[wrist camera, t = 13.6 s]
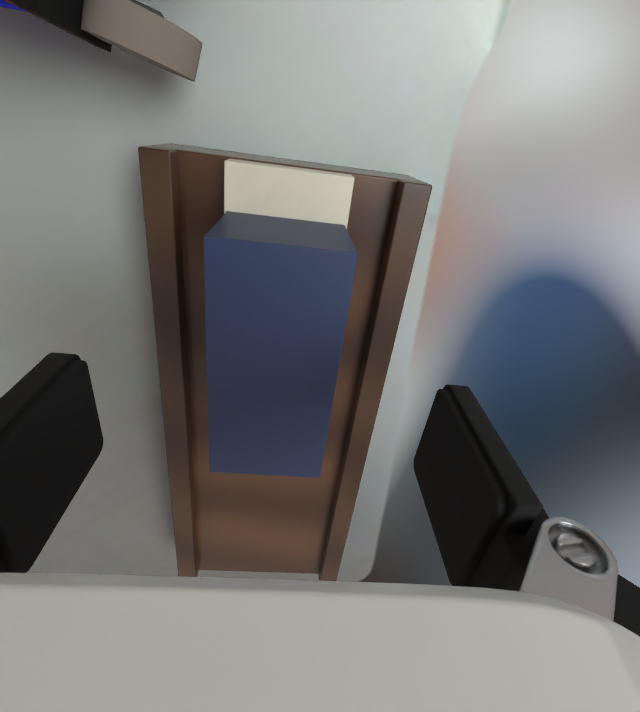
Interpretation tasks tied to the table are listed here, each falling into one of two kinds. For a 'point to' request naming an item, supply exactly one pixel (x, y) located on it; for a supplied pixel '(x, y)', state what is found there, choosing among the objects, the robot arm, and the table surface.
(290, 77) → the table surface
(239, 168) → the blue milk carton
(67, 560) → the table surface
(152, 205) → the brown wooden tray
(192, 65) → the figurine character
